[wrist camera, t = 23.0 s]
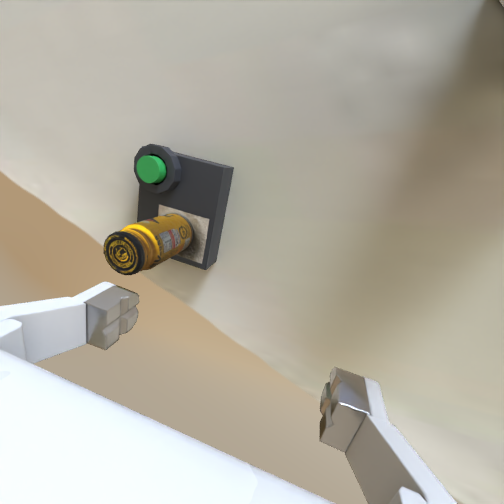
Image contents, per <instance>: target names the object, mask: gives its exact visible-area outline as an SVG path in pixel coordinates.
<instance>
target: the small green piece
mask: <svg viewBox="0 0 504 504" xmlns="http://www.w3.org/2000/svg"><path fill="white" fill-rule="evenodd" d="M166 172H167V170H166V166H165V163H164V162H163V160H162V159H160V158H159V157H157V156H143V157H141V158H140V159H139V160H138V162H137V173H138V175H139V177H140V178H141V179H142V180H143V181H144V182H146V183H159V182H161V181H163V180H164V178H165V176H166Z"/></svg>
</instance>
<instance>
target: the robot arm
mask: <svg viewBox="0 0 504 504" xmlns="http://www.w3.org/2000/svg"><path fill="white" fill-rule="evenodd" d="M499 1H500V3H501V4H502V6H503V7H504V0H499ZM138 303H139V295H138V294H137V293H135V292H132V291H130V290H128V289H125V288H122V287H120V286H117V285H115V284H112V283H109V282H102V283H100V284H98V285H96V286H94V287H92V288H90V289H88V290H86V291H84V292H82V293H80V294H78V295H76V296H74V297H72V298H70V297H63V298H56V299H49V300H42V301H35V302H27V303H20V304H13V305H7V306H0V504H335V503H333V502H331V501H329V500H327V499H325V498H322V497H320V496H318V495H316V494H314V493H312V492H309V491H307V490H305V489H303V488H301V487H299V486H296V485H294V484H292V483H290V482H288V481H286V480H283V479H281V478H279V477H277V476H275V475H273V474H270V473H268V472H266V471H264V470H262V469H260V468H257V467H255V466H253V465H251V464H249V463H246V462H244V461H242V460H240V459H238V458H236V457H234V456H231V455H229V454H227V453H225V452H223V451H220V450H218V449H216V448H214V447H212V446H210V445H207V444H205V443H203V442H201V441H199V440H197V439H194V438H192V437H190V436H188V435H186V434H184V433H181V432H179V431H177V430H175V429H173V428H170V427H168V426H166V425H164V424H162V423H160V422H158V421H155V420H153V419H151V418H149V417H147V416H145V415H142V414H140V413H138V412H136V411H134V410H132V409H129V408H127V407H125V406H123V405H121V404H119V403H116V402H114V401H112V400H110V399H108V398H105V397H103V396H101V395H99V394H97V393H95V392H93V391H90V390H88V389H86V388H84V387H81V386H79V385H77V384H75V383H73V382H71V381H69V380H66V379H64V378H62V377H60V376H58V375H55V374H54V373H51V372H49V371H47V370H45V369H43V368H40V367H38V366H36V365H34V363H36V362H39V361H42V360H44V359H47V358H50V357H53V356H55V355H58V354H61V353H63V352H66V351H69V350H72V349H75V348H77V347H80V346H83V345H85V344H86V343H88V344H90V345H93V346H96V347H99V348H101V349H104V350H107V349H108V348H109V347H110V346H112V345H113V344H114V343H115V342H116V341H118V339H119V335H121V334H124V333H127V332H128V331H130V330H131V329H132V328H133V326H134V325H135V323H136V321H137V318H138V310H137V308H136V305H137V304H138ZM320 412H321V413H322V415H323V417H322V419H321V421H320V441H321V442H323V443H325V444H327V445H329V446H331V447H334V448H336V449H339V450H340V451H343V452H345V455H346V457H347V460H348V461H349V464H350V466H351V468H352V470H353V472H354V474H355V477H356V479H357V481H358V483H359V485H360V487H361V489H362V491H363V493H364V496H365V497H366V500H367V502H368V504H457V502H456V501H455V500H454V499H453V497H452V496H451V495H450V494H449V492H448V491H447V490H446V489H445V487H444V486H443V485H442V484H441V482H440V481H439V480H438V479H437V477H436V476H435V475H434V474H433V472H432V471H431V470H430V469H429V468H428V466H427V465H426V464H425V463H424V461H423V460H422V459H421V458H420V456H419V455H418V454H417V453H416V451H415V450H414V449H413V448H412V446H411V445H410V444H409V443H408V442H407V440H406V439H405V438H404V437H403V435H402V434H401V433H400V432H399V430H398V429H397V428H396V427H395V425H393V424H391V423H389V419H388V416H387V412H386V408H385V404H384V400H383V396H382V393H381V389H380V385H379V383H378V382H377V381H375V380H372V379H369V378H366V377H362V376H359V375H356V374H354V373H351V372H348V371H345V370H343V369H340V368H337V367H334V368H333V369H332V371H331V373H330V382H328V383H326V384H325V387H324V389H323V393H322V396H321V403H320Z"/></svg>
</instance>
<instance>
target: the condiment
mask: <svg viewBox="0 0 504 504" xmlns="http://www.w3.org/2000/svg"><path fill="white" fill-rule="evenodd" d="M208 225H209V219H207V218H203V217H200V216H196V215H193V214H190V213H186V212H183V211H180V210H176V209H173V208H170V207H166V206H163V205H159V210H158V217H155V218H151V219H147V220H144V221H141V222H138V223H134V224H131V225H128V226H126V227H125V228H123V229H122V230H120V231H119V232H115V233H113V234H111V235H109V236H108V237H107V239H106V240H105V243H104V254H105V257H106V260H107V262H108V263H109V265H110V266H111V267H112V268H113V269H114V270H115V271H117V272H118V273H121V274H124V275H132V274H136V273H138V272H139V271H142V270H148V269H151V268H153V267H155V266H157V265H158V264H160V263H162V262H164V261H165V260H167V259H169V258H171V257H172V256H174V255H178V256H180V257H183V258H187V259H190V260H193V261H195V262H198V263H201V264H202V260H203V255H204V249H205V244H206V239H207V231H208Z"/></svg>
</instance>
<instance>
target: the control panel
mask: <svg viewBox="0 0 504 504" xmlns="http://www.w3.org/2000/svg"><path fill="white" fill-rule="evenodd" d="M143 156H157V157H159V158H160V159H162V160H163V162H164V163H165V166H166V170H167V172H166V176H165V178H164V180H163V181H161V182H159V183H146V182H144V181H143V180H142V179H141V178H140V177H139V175H138V173H137V162H138V160H139V159H140V158H141V157H143ZM233 169H234V168H233V167H230V166H226V165H222V164H218V163H214V162H210V161H206V160H202V159H198V158H195V157H191V156H187V155H183V154H179V153H175V152H172V151H171V150H170V149H169V148H168V147H164V146H160V145H155V144H149V145H147V146H144V147H143V146H142V148H140V150H139V151H138V153H137V155H136V156H135V160H134V172H135V175H136V177H137V180H138V182H139V183H140V186H139V202H138V218H137V223H138V222H141V221H144V220H147V219H151V218H155V217H158V210H159V205H163V206H166V207H170V208H173V209H176V210H180V211H183V212H186V213H190V214H193V215H196V216H200V217H203V218H207V219H209V225H208V231H207V239H206V244H205V249H204V255H203V260H202V264H201V263H198V262H195V261H193V260H190V259H187V258H183V257H180V256H178V255H174V256H172V257H171V259H174V260H177V261H180V262H183V263H186V264H189V265H192V266H195V267H198V268H201V269H204V270H207V269H208V268H209V267H210V266H211V265H213V264H214V263H215V262H216V259H217V254H218V248H219V243H220V238H221V233H222V227H223V222H224V217H225V211H226V206H227V201H228V196H229V190H230V185H231V180H232V174H233Z"/></svg>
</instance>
